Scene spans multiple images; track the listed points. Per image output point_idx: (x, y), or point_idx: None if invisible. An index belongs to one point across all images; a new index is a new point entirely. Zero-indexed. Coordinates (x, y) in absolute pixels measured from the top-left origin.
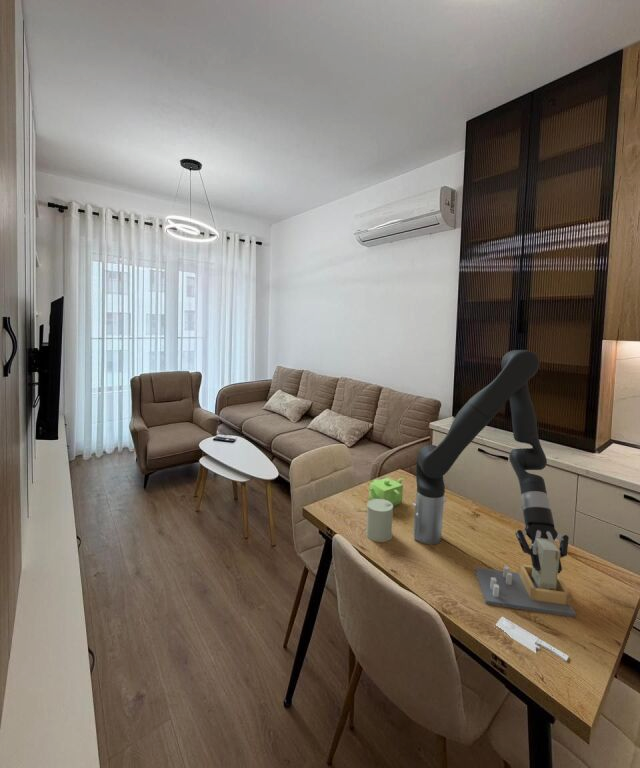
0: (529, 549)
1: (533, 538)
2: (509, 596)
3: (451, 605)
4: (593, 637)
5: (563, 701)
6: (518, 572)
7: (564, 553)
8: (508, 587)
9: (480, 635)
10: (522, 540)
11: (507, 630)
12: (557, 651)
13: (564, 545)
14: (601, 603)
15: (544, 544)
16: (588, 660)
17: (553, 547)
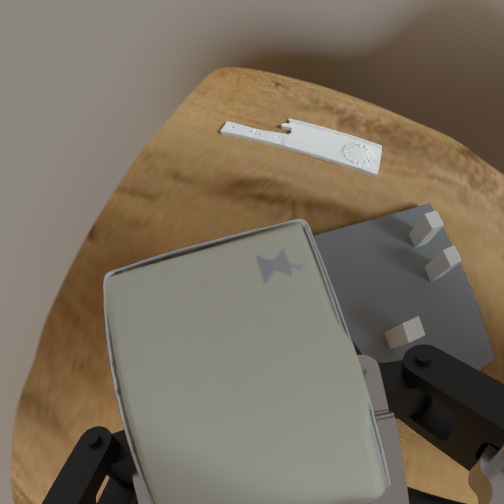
0: (409, 366)
1: (412, 490)
2: (380, 257)
3: (472, 173)
4: (140, 221)
5: (247, 71)
6: None
7: (92, 437)
8: (391, 308)
9: (395, 119)
10: (497, 388)
11: (354, 140)
12: (243, 129)
13: (68, 501)
14: (75, 392)
15: (292, 364)
16: (179, 147)
17: (165, 336)
